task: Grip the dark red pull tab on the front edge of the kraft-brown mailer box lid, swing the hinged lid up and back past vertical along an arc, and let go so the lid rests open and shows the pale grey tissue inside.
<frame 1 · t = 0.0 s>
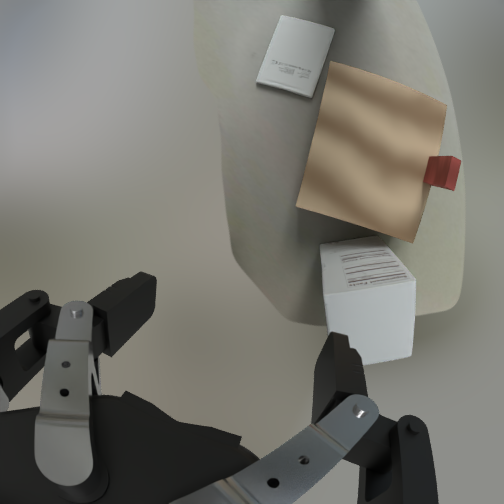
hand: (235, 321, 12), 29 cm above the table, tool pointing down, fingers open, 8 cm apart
supplement box: (352, 268, 40), on the table
external hard drive: (296, 56, 32), on the table
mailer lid: (384, 148, 24), point 10 cm above the table, hinge at 0.0°
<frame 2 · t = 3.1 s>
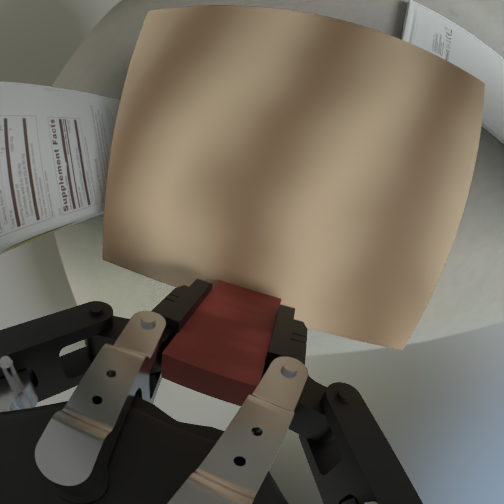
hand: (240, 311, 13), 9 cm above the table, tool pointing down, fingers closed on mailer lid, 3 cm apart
supplement box: (102, 164, 22), on the table
external hard drive: (462, 73, 14), on the table
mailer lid: (274, 157, 9), point 10 cm above the table, hinge at 0.0°, touching gripper
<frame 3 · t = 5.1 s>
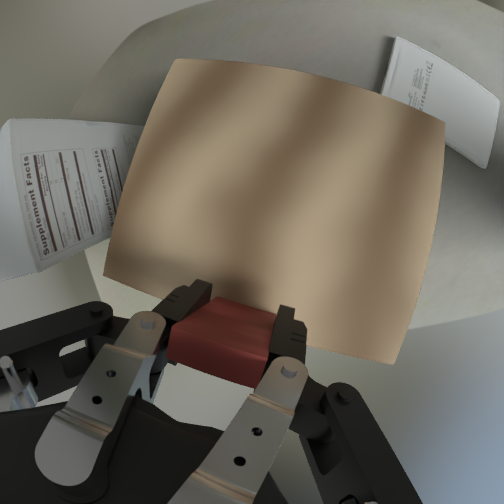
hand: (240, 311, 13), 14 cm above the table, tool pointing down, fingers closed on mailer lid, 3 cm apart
supplement box: (128, 180, 27), on the table
external hard drive: (440, 102, 18), on the table
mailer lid: (277, 173, 11), point 13 cm above the table, hinge at 18.5°, touching gripper
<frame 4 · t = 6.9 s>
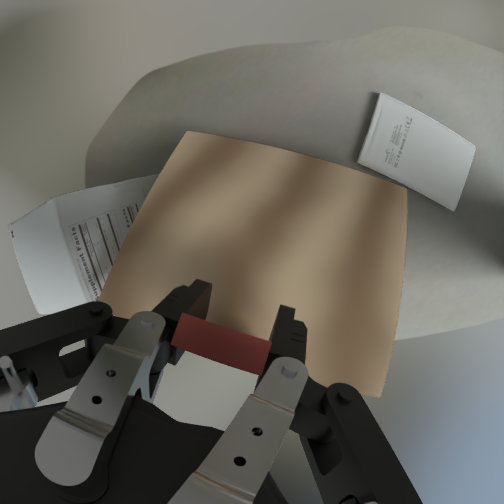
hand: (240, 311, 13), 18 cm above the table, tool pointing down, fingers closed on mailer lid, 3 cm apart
supplement box: (145, 216, 33), on the table
external hard drive: (417, 152, 24), on the table
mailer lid: (272, 218, 14), point 15 cm above the table, hinge at 43.6°, touching gripper
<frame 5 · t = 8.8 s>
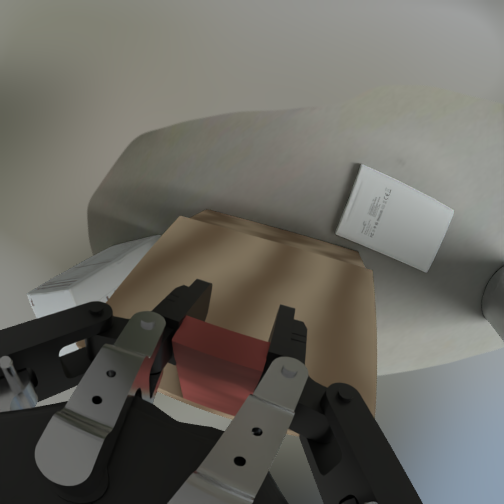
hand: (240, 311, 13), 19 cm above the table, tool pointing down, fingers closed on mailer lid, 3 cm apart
supplement box: (145, 270, 37), on the table
mailer base: (266, 287, 34), on the table
external hard drive: (395, 218, 28), on the table
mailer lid: (257, 278, 16), point 15 cm above the table, hinge at 71.8°, touching gripper
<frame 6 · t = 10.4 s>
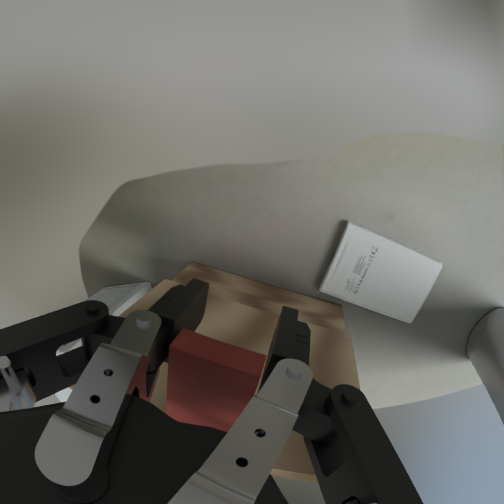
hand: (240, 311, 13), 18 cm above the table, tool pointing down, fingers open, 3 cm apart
supplement box: (137, 311, 37), on the table
mailer base: (251, 335, 34), on the table
external hard drive: (381, 272, 29), on the table
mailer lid: (243, 328, 17), point 14 cm above the table, hinge at 92.2°
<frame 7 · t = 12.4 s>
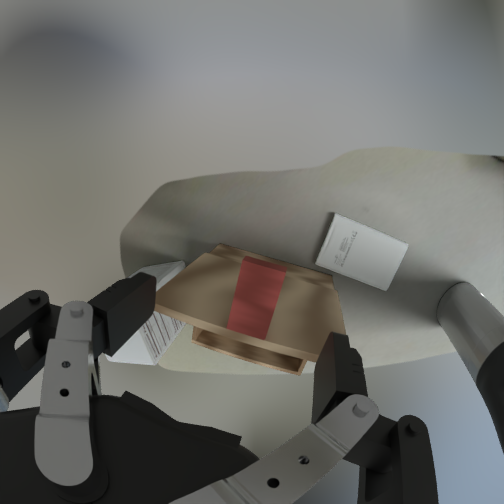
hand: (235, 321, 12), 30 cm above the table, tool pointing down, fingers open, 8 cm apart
supplement box: (170, 286, 48), on the table
mailer base: (264, 300, 45), on the table
external hard drive: (361, 251, 40), on the table
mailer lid: (267, 273, 28), point 14 cm above the table, hinge at 92.3°
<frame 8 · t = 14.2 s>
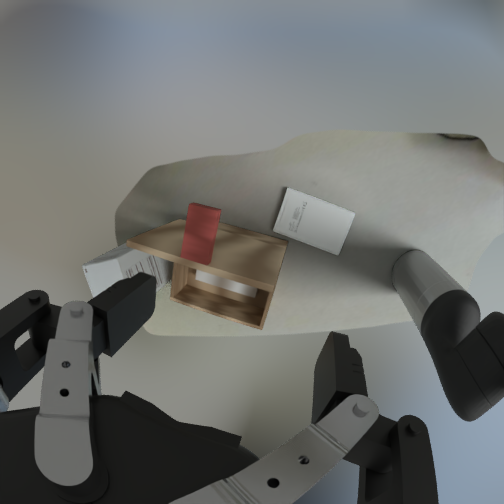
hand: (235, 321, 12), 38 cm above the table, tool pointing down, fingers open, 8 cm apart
supplement box: (155, 255, 56), on the table
mailer base: (232, 264, 53), on the table
external hard drive: (313, 220, 48), on the table
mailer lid: (219, 225, 36), point 14 cm above the table, hinge at 92.3°
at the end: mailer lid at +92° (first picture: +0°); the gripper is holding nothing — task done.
